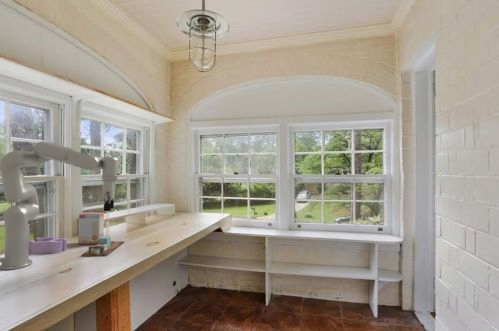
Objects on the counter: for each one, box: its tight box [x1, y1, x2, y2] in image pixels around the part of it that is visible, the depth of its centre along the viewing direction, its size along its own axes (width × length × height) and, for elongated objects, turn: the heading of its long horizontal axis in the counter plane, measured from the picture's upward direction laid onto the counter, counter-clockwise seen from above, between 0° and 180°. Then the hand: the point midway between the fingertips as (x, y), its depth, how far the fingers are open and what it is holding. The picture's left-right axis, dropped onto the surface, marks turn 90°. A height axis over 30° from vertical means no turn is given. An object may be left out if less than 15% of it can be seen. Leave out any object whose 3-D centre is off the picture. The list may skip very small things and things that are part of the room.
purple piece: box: [29, 236, 68, 255], centre depth 161 cm, size 20×12×7 cm, turn 89°
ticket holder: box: [81, 240, 125, 257], centre depth 168 cm, size 14×28×5 cm, turn 6°
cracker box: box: [77, 211, 105, 245], centre depth 179 cm, size 14×6×21 cm, turn 90°
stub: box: [99, 236, 112, 248], centre depth 168 cm, size 5×5×6 cm
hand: (108, 209), depth 146 cm, fingers open, 9 cm apart
